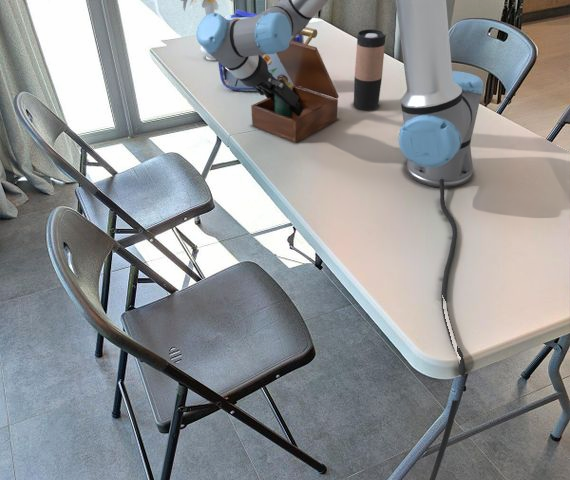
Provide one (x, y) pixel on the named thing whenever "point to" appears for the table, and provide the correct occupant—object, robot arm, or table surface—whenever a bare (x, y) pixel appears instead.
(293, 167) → the table surface
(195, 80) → the table surface
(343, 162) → the table surface
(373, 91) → the travel mug
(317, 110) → the case
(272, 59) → the lunch box
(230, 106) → the table surface
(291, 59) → the case lid
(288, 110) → the tea tin
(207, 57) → the flower vase
